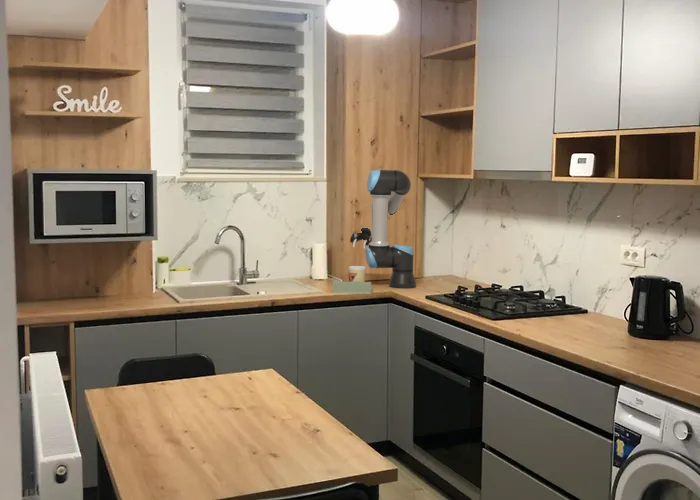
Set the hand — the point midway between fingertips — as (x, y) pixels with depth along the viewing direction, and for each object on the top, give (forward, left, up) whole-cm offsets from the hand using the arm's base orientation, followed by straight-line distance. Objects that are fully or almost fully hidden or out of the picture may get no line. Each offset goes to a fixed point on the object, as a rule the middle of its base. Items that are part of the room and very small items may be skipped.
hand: (359, 245), depth 418 cm
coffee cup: (-1, +18, -22) cm, 29 cm away
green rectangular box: (+1, +19, -23) cm, 30 cm away
